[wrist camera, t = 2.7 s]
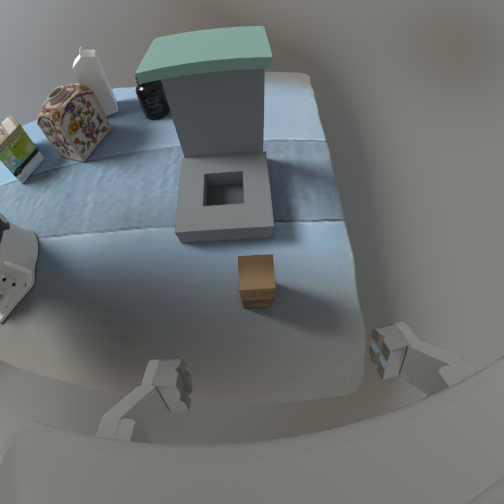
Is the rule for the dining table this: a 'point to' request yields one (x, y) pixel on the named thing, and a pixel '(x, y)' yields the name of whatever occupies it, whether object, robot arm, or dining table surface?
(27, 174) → the tea box
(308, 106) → the dining table surface
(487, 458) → the robot arm
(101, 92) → the milk
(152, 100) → the supplement bottle
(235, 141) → the socket stand
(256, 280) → the walnut peg
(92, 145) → the decorative jar
